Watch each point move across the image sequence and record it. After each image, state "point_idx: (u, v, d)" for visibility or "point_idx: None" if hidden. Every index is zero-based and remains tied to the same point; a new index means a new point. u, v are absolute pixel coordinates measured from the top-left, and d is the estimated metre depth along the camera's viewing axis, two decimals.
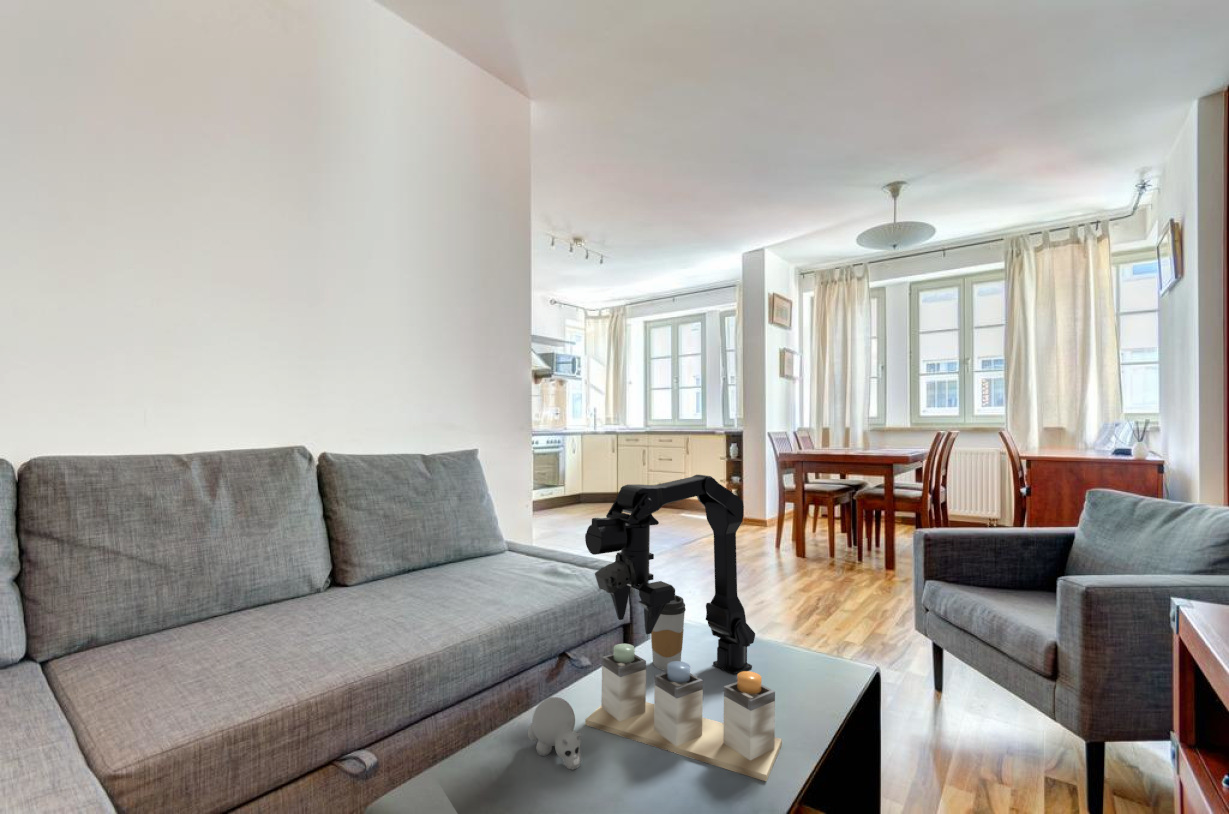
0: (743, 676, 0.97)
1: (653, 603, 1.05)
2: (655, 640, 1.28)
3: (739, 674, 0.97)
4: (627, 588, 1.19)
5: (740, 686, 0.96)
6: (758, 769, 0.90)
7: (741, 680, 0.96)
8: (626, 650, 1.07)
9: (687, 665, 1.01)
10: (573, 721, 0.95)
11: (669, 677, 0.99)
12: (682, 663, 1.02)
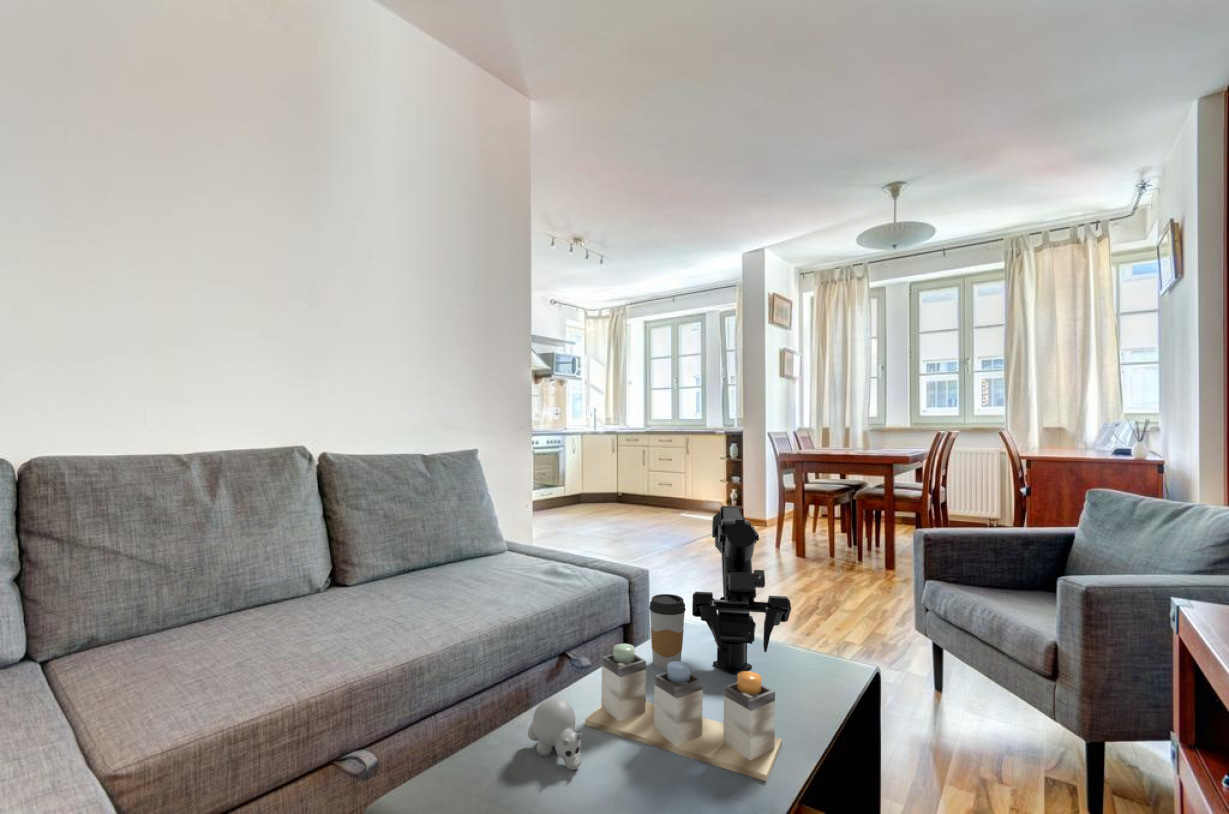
0: (743, 676, 0.97)
1: (790, 607, 1.09)
2: (655, 640, 1.28)
3: (739, 674, 0.97)
4: None
5: (740, 686, 0.96)
6: (758, 769, 0.90)
7: (741, 680, 0.96)
8: (626, 650, 1.07)
9: (687, 665, 1.01)
10: (573, 721, 0.95)
11: (669, 677, 0.99)
12: (682, 663, 1.02)
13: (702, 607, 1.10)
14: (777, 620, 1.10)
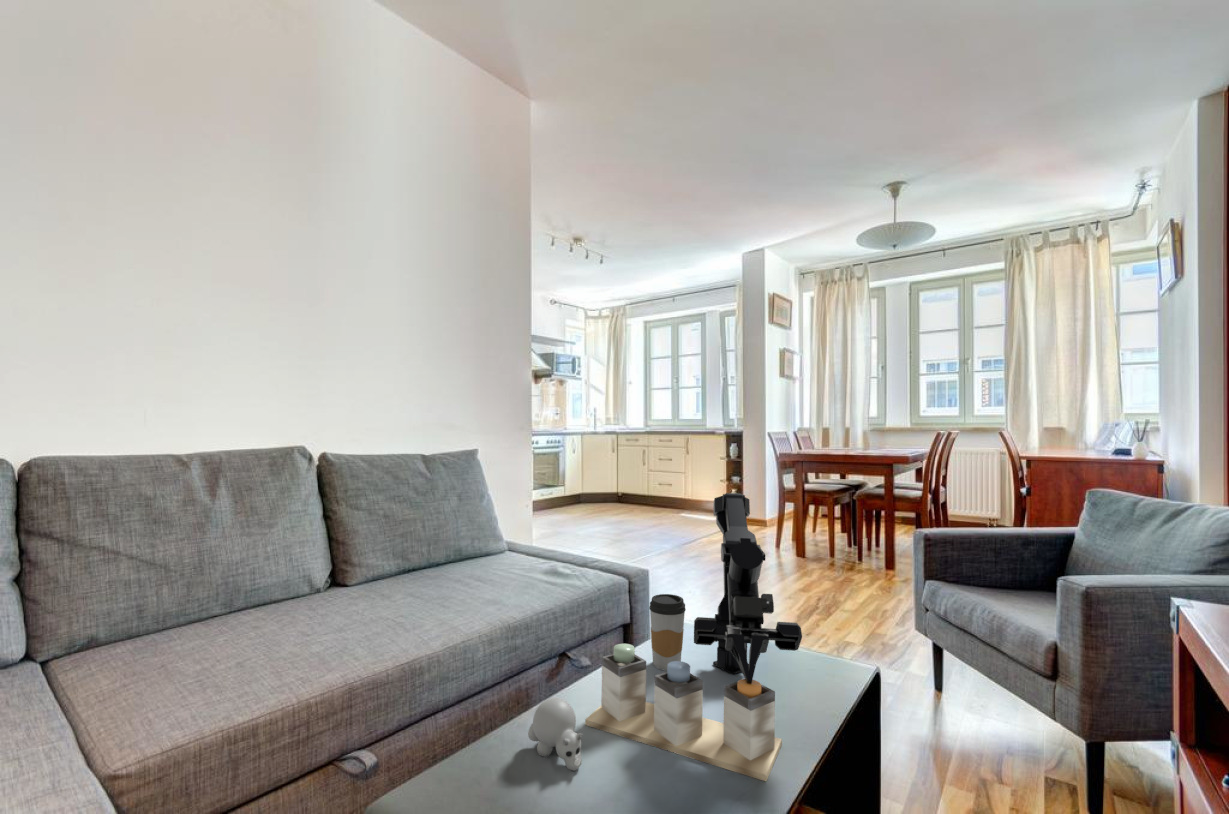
0: (743, 684, 0.97)
1: (801, 635, 0.99)
2: (655, 640, 1.28)
3: (739, 682, 0.97)
4: None
5: None
6: (758, 769, 0.90)
7: (741, 688, 0.96)
8: (626, 650, 1.07)
9: (687, 665, 1.01)
10: (574, 722, 0.95)
11: (669, 677, 0.99)
12: (682, 663, 1.02)
13: (728, 636, 1.00)
14: (763, 647, 1.01)
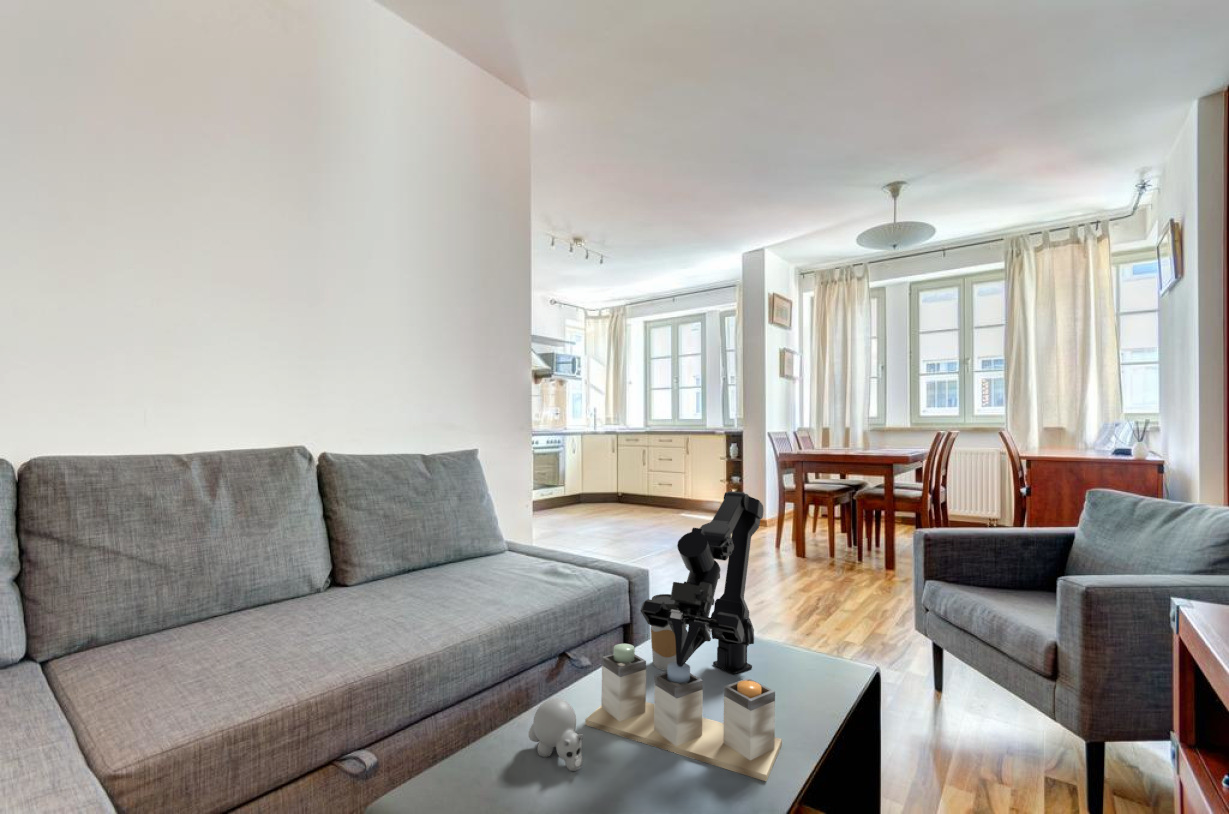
0: (743, 686, 0.97)
1: (736, 627, 0.99)
2: (655, 640, 1.28)
3: (739, 683, 0.97)
4: None
5: None
6: (758, 769, 0.90)
7: (741, 690, 0.96)
8: (626, 650, 1.07)
9: (687, 666, 1.01)
10: (574, 722, 0.95)
11: (669, 678, 0.99)
12: None
13: (668, 619, 1.05)
14: (705, 635, 1.04)
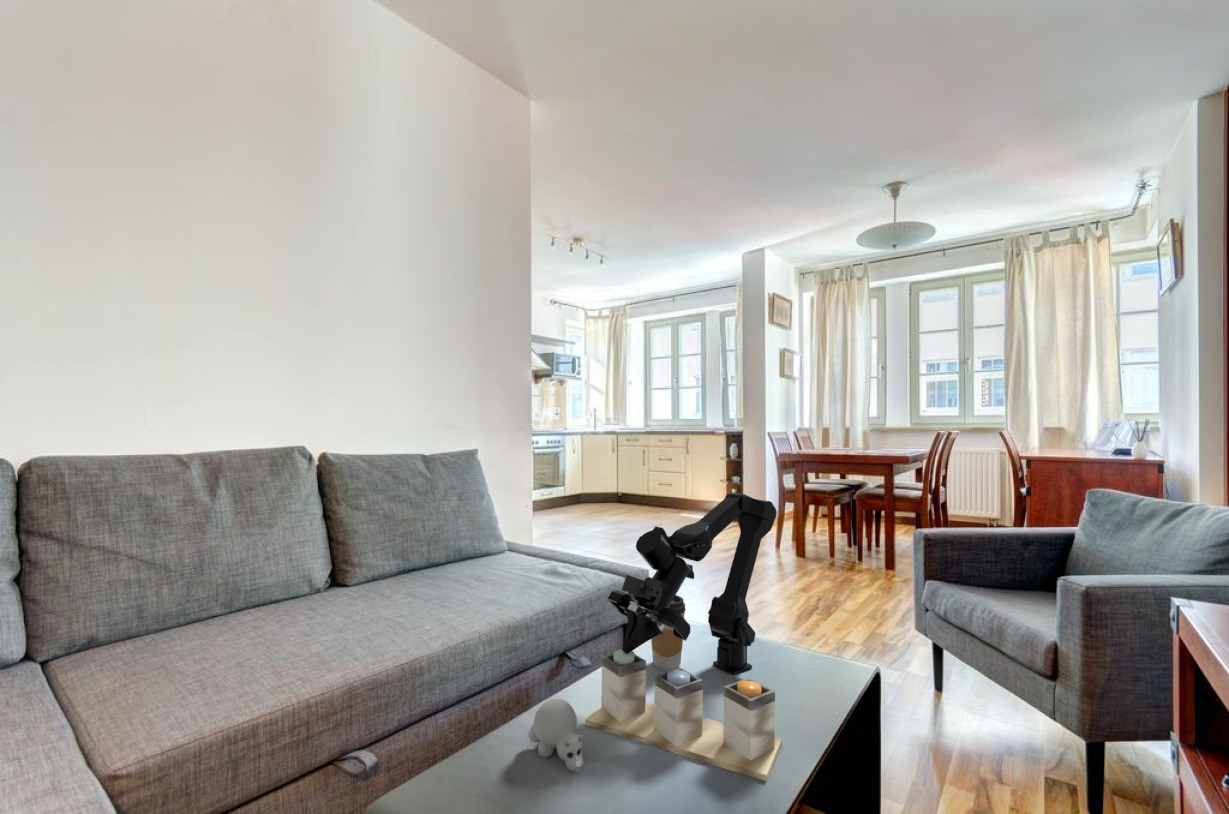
0: (743, 686, 0.97)
1: (673, 623, 1.03)
2: (655, 640, 1.28)
3: (739, 683, 0.97)
4: None
5: None
6: (758, 769, 0.90)
7: (741, 690, 0.96)
8: (625, 656, 1.07)
9: (687, 674, 1.01)
10: (575, 723, 0.94)
11: None
12: (682, 672, 1.02)
13: (624, 609, 1.13)
14: (655, 629, 1.09)
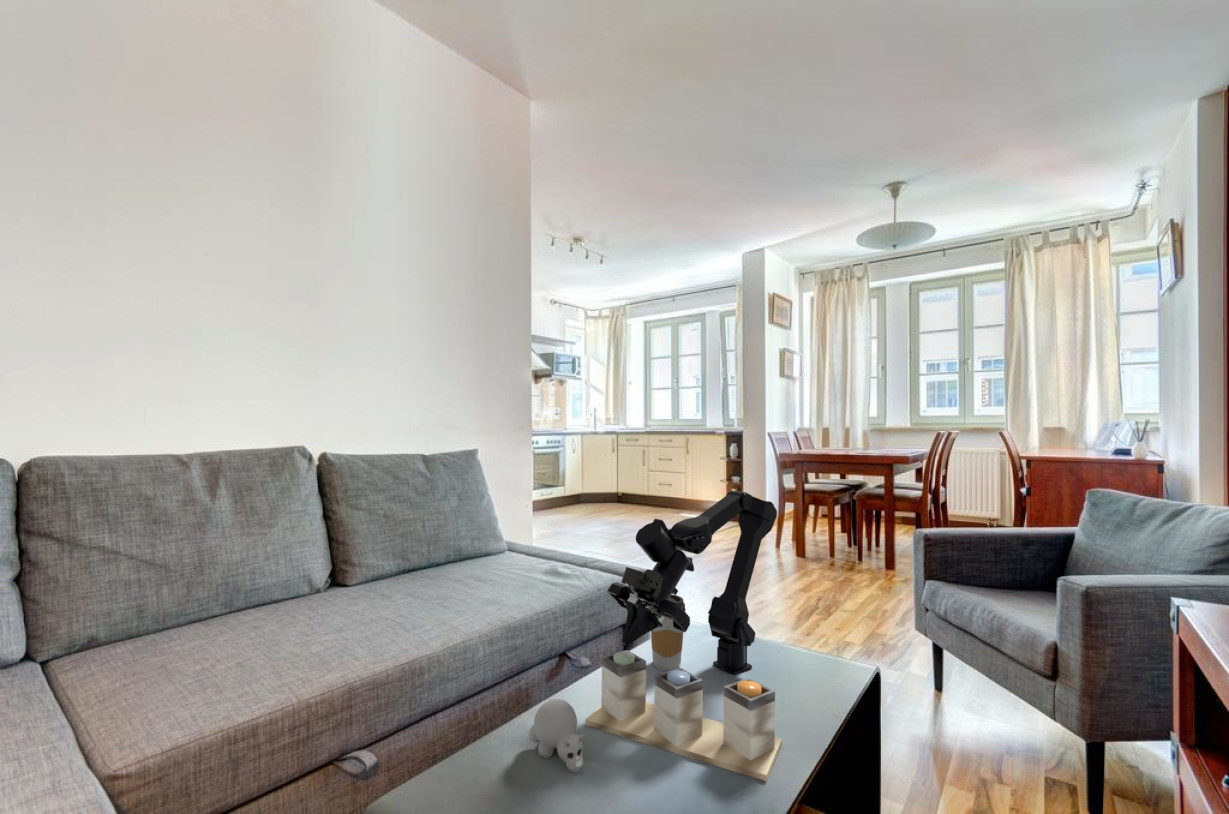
0: (743, 686, 0.97)
1: (673, 615, 1.03)
2: (655, 640, 1.28)
3: (739, 683, 0.97)
4: None
5: None
6: (758, 769, 0.90)
7: (741, 690, 0.96)
8: (625, 658, 1.07)
9: (687, 674, 1.01)
10: (575, 723, 0.94)
11: None
12: (682, 672, 1.02)
13: (624, 602, 1.13)
14: (654, 620, 1.09)
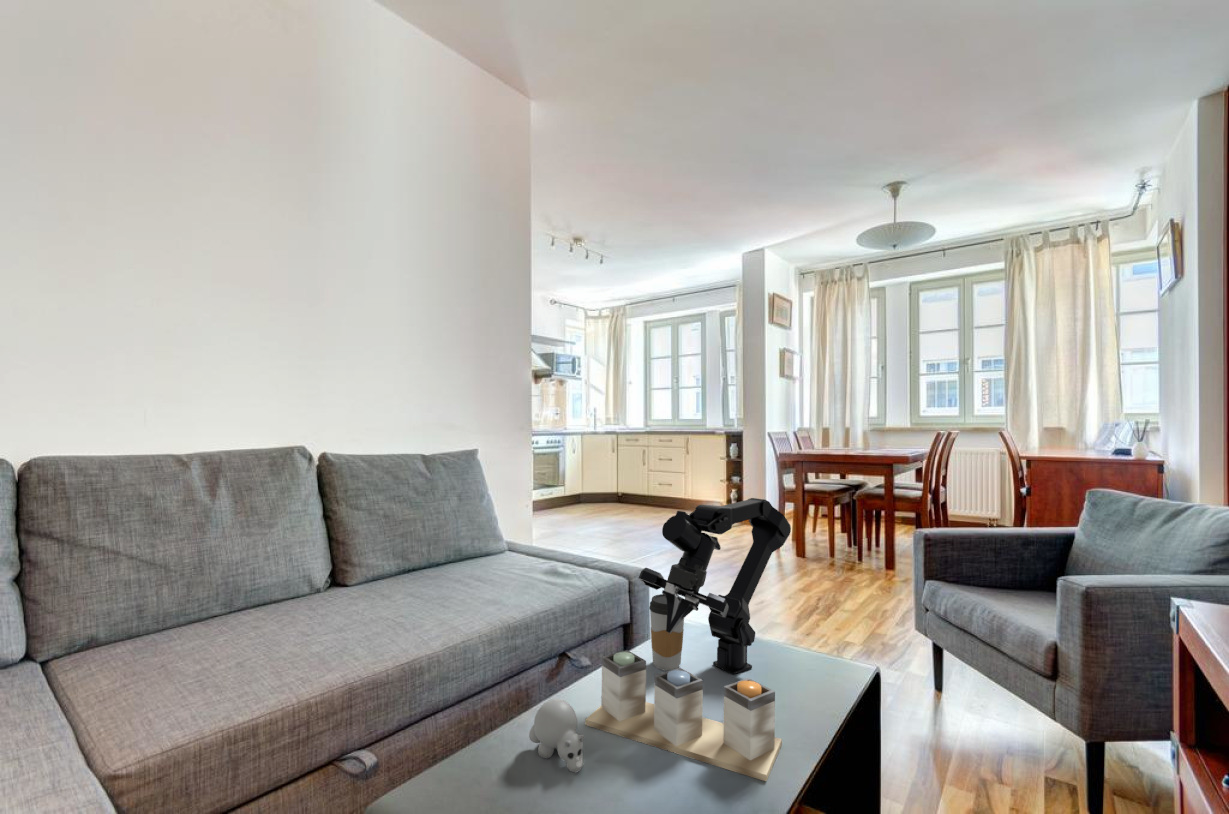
0: (743, 686, 0.97)
1: (723, 611, 1.12)
2: (655, 640, 1.28)
3: (739, 683, 0.97)
4: (677, 604, 1.19)
5: None
6: (758, 769, 0.90)
7: (741, 690, 0.96)
8: (625, 658, 1.07)
9: (687, 674, 1.01)
10: (575, 723, 0.94)
11: None
12: (682, 672, 1.02)
13: (662, 592, 1.17)
14: (693, 608, 1.17)
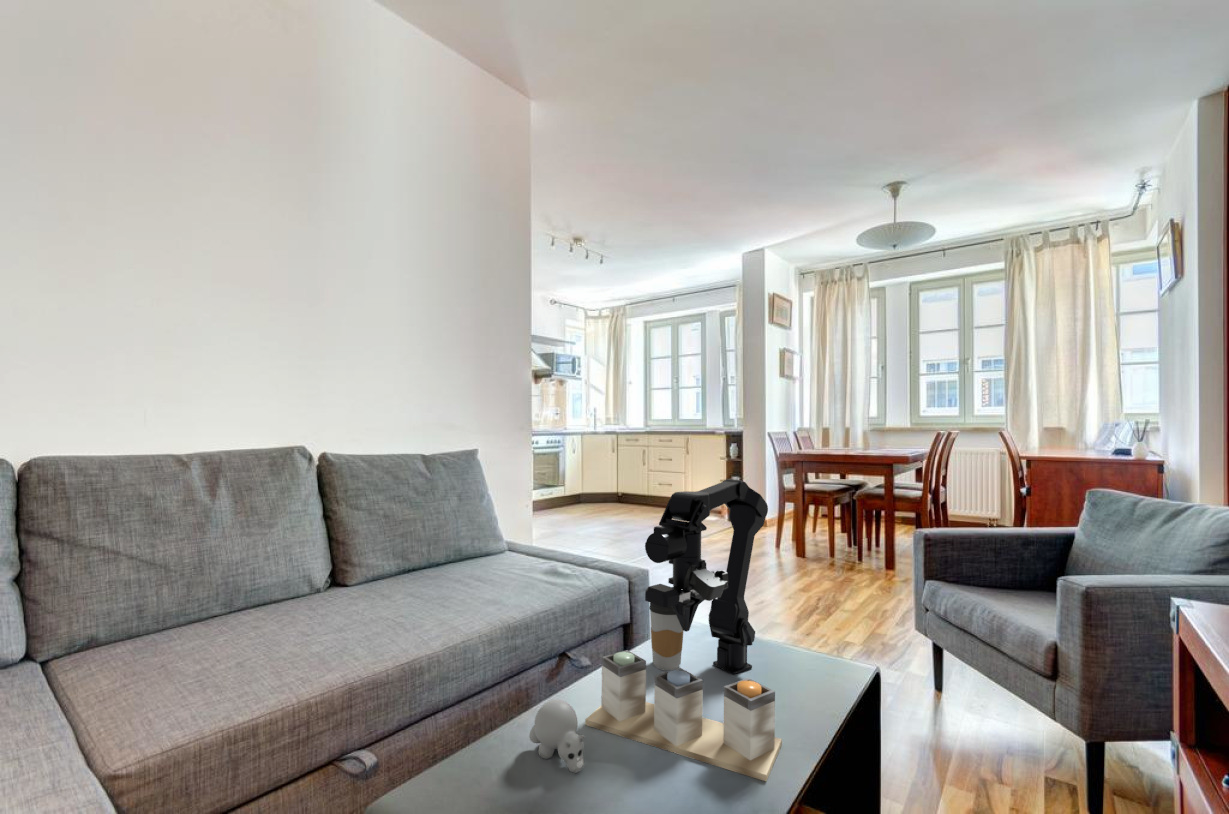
0: (743, 686, 0.97)
1: None
2: (655, 640, 1.28)
3: (739, 683, 0.97)
4: None
5: None
6: (758, 769, 0.90)
7: (741, 690, 0.96)
8: (625, 658, 1.07)
9: (687, 674, 1.01)
10: (576, 723, 0.94)
11: None
12: (682, 672, 1.02)
13: (684, 604, 1.12)
14: None
